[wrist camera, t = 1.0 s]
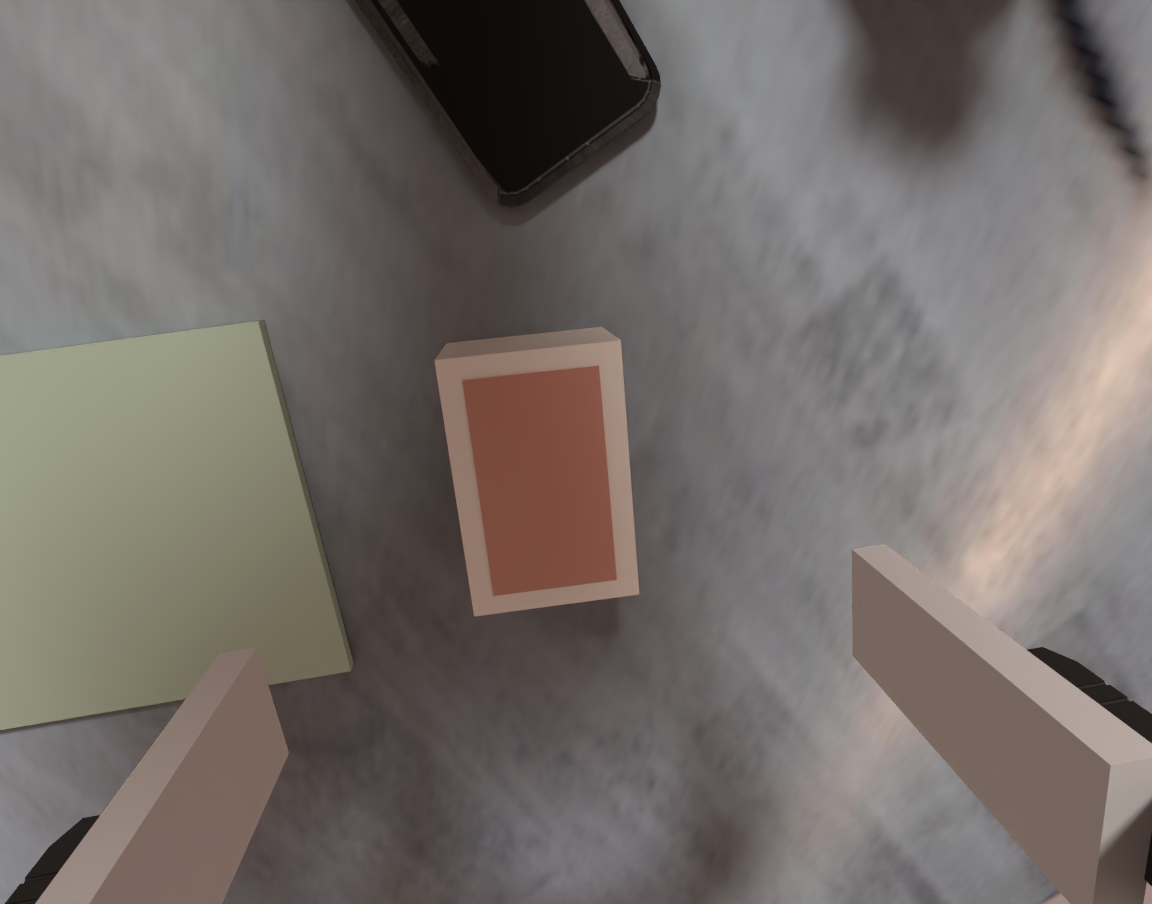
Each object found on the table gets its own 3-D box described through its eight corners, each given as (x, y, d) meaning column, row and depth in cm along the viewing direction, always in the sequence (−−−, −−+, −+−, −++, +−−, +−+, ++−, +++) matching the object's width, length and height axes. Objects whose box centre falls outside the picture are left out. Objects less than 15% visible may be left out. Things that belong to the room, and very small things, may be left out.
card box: (446, 342, 27) (433, 360, 23) (601, 326, 28) (620, 340, 23) (479, 560, 30) (474, 617, 26) (618, 542, 31) (639, 595, 26)
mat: (-329, 400, 25) (-348, 403, 24) (263, 320, 26) (258, 321, 26) (-140, 745, 30) (-153, 755, 29) (353, 663, 31) (350, 671, 30)
